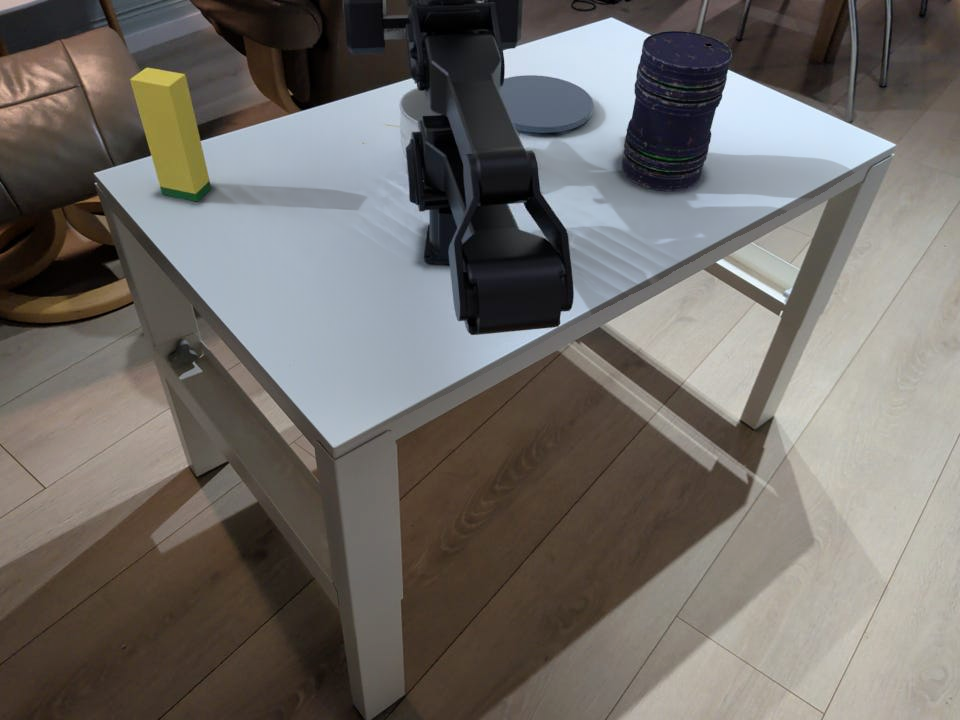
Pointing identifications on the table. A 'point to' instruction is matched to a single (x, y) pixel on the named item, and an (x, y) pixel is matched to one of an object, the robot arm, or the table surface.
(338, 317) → the table surface
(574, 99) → the plate
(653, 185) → the dark purple barrel
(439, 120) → the robot arm
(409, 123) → the teacup
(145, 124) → the yellow green tall block
